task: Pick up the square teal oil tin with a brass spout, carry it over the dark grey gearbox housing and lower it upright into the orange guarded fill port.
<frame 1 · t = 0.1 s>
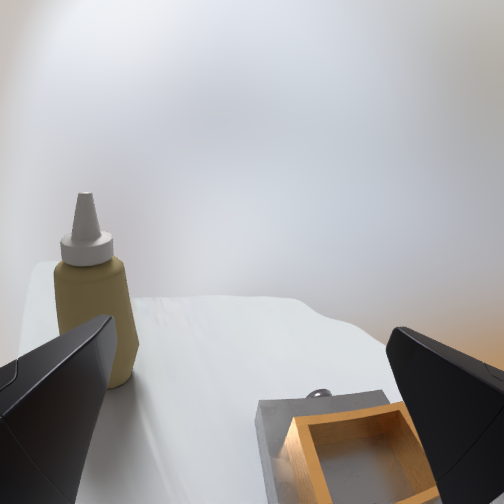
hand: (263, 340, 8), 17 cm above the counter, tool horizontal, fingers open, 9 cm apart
gearbox housing: (344, 494, 16), on the counter
squeeze bottle: (106, 372, 26), on the counter
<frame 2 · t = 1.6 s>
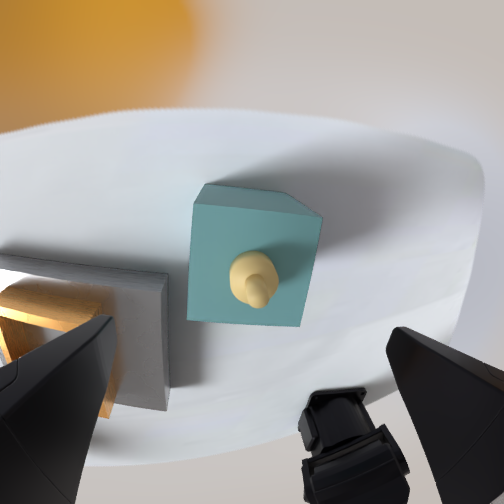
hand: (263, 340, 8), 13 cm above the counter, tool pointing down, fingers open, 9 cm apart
gearbox housing: (72, 325, 22), on the counter
oil can: (240, 227, 21), on the counter
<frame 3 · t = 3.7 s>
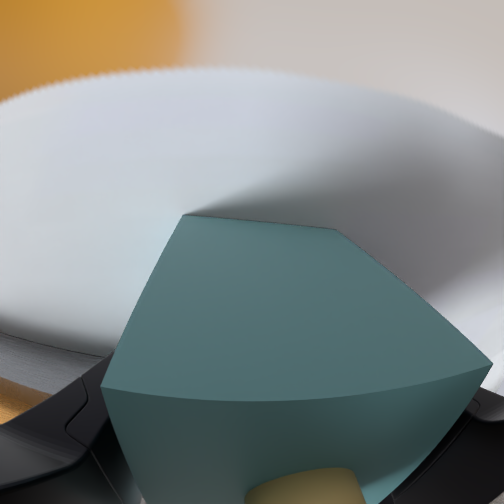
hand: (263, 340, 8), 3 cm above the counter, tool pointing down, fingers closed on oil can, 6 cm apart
gearbox housing: (23, 403, 13), on the counter
oil can: (253, 293, 11), on the counter, touching gripper
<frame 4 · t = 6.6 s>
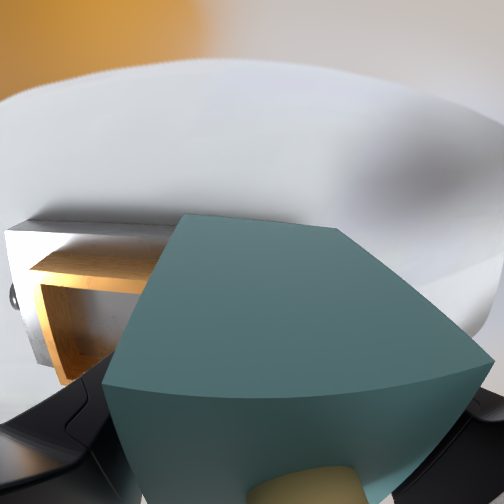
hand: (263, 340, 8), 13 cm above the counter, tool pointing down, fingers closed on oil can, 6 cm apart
gearbox housing: (127, 299, 21), on the counter
oil can: (253, 292, 11), point 10 cm above the counter, touching gripper
when the fingers open (7 cm above the counter, at t = 9.5 s): oil can stays where it is, resting on gearbox housing.
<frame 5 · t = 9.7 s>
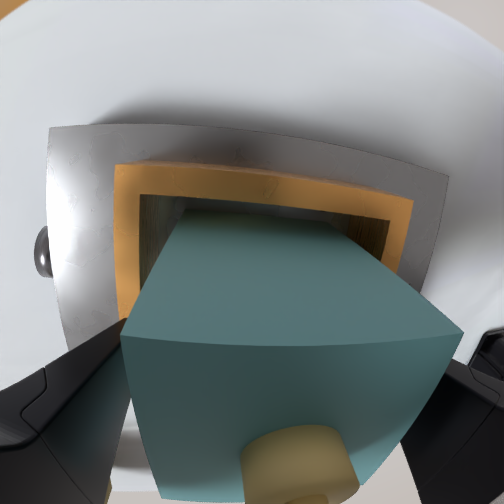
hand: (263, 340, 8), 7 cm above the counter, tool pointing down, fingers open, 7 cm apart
gearbox housing: (243, 257, 15), on the counter
oil can: (250, 281, 12), point 3 cm above the counter, touching gearbox housing
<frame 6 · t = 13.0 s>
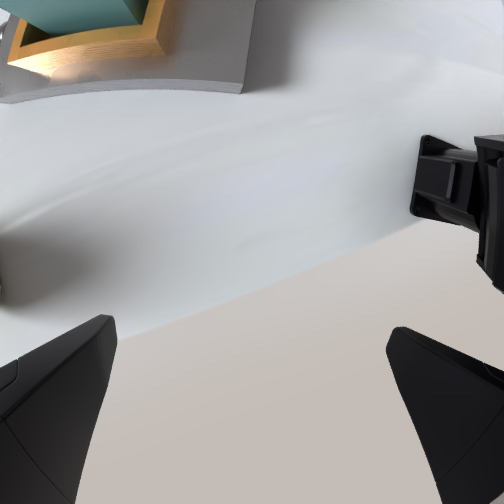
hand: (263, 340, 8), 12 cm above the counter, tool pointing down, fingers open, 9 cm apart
gearbox housing: (122, 15, 13), on the counter
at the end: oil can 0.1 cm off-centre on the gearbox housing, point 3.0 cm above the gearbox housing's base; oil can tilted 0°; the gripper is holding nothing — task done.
